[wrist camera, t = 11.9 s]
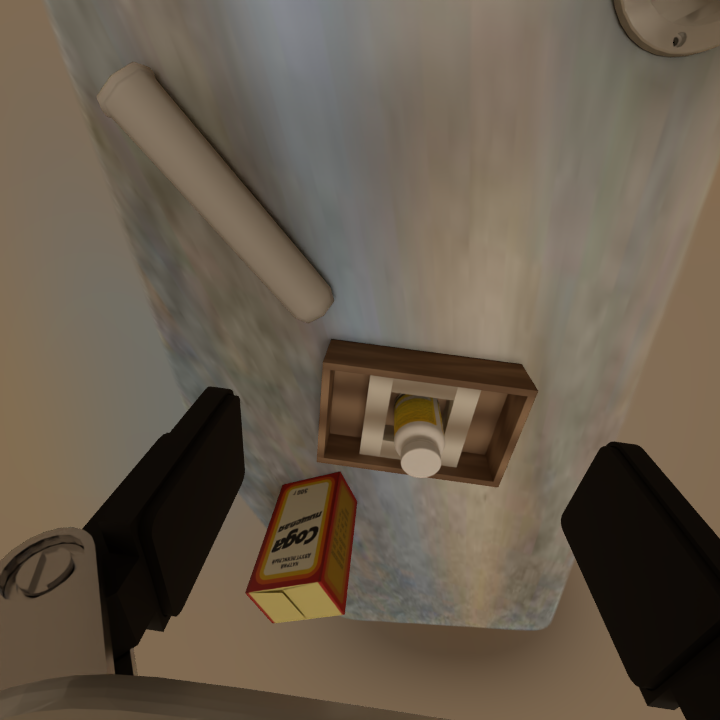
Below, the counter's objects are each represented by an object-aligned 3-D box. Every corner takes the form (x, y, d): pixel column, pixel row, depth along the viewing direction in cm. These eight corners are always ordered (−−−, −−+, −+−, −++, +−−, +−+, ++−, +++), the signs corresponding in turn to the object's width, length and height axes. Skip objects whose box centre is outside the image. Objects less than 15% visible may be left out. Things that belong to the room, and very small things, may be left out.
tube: (346, 302, 36) (135, 50, 27) (305, 337, 36) (85, 99, 28) (339, 295, 41) (160, 80, 32) (304, 326, 41) (116, 121, 33)
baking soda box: (340, 471, 52) (320, 585, 38) (357, 501, 55) (344, 618, 41) (282, 484, 55) (244, 596, 41) (301, 513, 57) (271, 626, 43)
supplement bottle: (384, 401, 44) (382, 458, 36) (421, 378, 42) (428, 433, 34) (411, 429, 46) (415, 490, 38) (447, 408, 44) (460, 468, 36)
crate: (331, 339, 42) (323, 362, 37) (521, 364, 42) (538, 391, 37) (324, 432, 49) (316, 461, 44) (488, 454, 48) (498, 487, 44)
